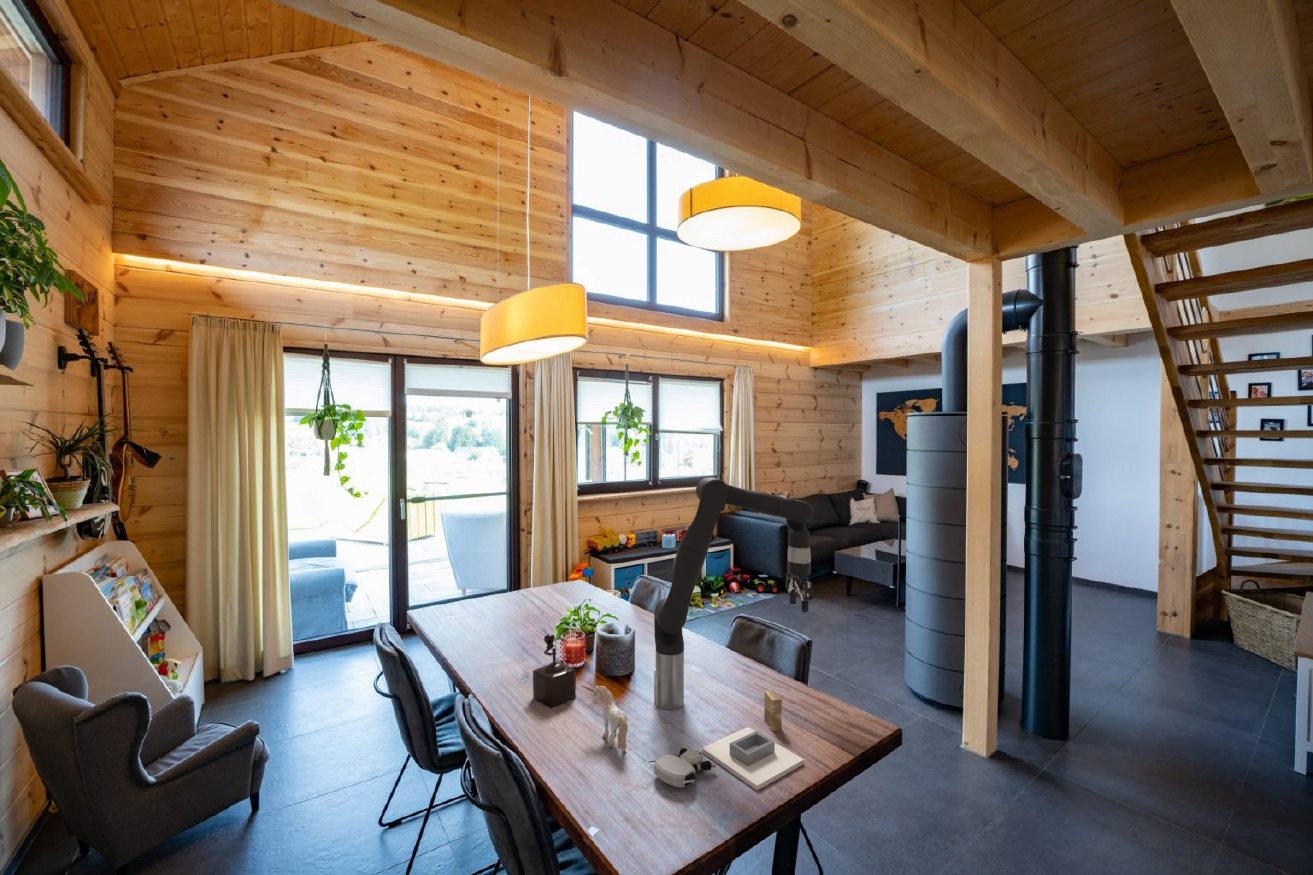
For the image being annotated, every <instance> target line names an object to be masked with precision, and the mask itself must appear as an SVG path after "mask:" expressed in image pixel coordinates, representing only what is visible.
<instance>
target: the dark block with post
mask: <svg viewBox="0 0 1313 875" xmlns="http://www.w3.org/2000/svg"><path fill="white" fill-rule="evenodd" d="M555 640H556V636H555V635H554V634H553V633H547V634H546V635H545V636H544V637H543V641H544V642H545V644H546V648H545V649H544V651H543V654H544V655H545V656H552V662H550V663H549V664H546V665H544V666H541V667H538V668H536V669H534V670H533V671H532V692H533V693H532V695H533V697H532V698H533V699H534V700H535V701H537V702H538V703H540V704H541V705H543V706H545V707H547V708H549V709H553V708H555V707H558V706H561V705H563V704H565V703H568V702H570V701H572V700H574V699H576V698H577V696H576V695H577V694H576V692H577V691H576V688H577V687H576V686H577V682H576V681H577V676H576V674H577V671H576V669H575V668H573V667H571V666H569V664H568V663H565V662H564V660H563V659H562V660H561V662H560V661H559V660H558V661H556V658H557V657H556V655H557V654H558V653H557V649H556V647H555V645H554V641H555ZM551 650H552V652H549V651H551Z"/></svg>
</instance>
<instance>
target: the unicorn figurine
mask: <svg viewBox="0 0 1313 875" xmlns="http://www.w3.org/2000/svg"><path fill="white" fill-rule="evenodd" d="M580 687H582V688H584V689H586V690H588V691H590V692H592V693H593V696H592V700H591V701H592V703H593V705H596V704H598V702H599V699H601V698H602V699H603V702H604V706H603V709H602V715H603V719H604V720H603V721H604V733H603V735H602V738H603V739H605V738H606V740H608V739H609V740H608V748H609V749H612V748H613V747H614V740H615V739H616V734H617V749H618V750H621V751H623V752H625V751H626V750H627V746H628V744H627V742H626V741H627V740H626V739H627V733H628V725H629V724H628V716H627V714H626V713H625V712H624V711H622V710H621V709H620V708H618V706H617V701H616V700H615V697H614V694H613V693H612V692H611V691H610V690H609V689H608V688H607V687H606V686H604V685H595V688H591V687H588V686H585V685H583V684H580ZM609 723H610V727H611V737H610V738H609V734H610V731H609V730H608V726H609ZM617 729H618V730H619V731H618V733H617Z"/></svg>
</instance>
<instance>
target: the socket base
mask: <svg viewBox="0 0 1313 875" xmlns="http://www.w3.org/2000/svg"><path fill="white" fill-rule="evenodd" d="M701 753H702V754H703V755H705V756H707V757H708V758H709V759H711V760H713V762H715V763H716V764H717V765H720V766H721V767H722V768H724V769H725V770H727V771H729V772H730V773H731V774H732V775H734V776H735V777H737V778H739V780H741V781H743V782H744V783H746V784H747V785H748V786H750V787H751V788H752V789H754V790H755V791H759V790H761V789H763V788H764V787H766V786H768V785H769V784H771V783H773V782H775V781H777V780H778V779H780V778H782V777H784V776H785V775H787V774H789V773H791V772H792V771H795V770H797V769H798V768H799V767H801V766H803V765H805V759H804V758H802V757H801V756H799V755H797V754H795V753H793V752H792V751H790V750H789V749H786V748H785V747H784V746H781V745H779V744H778V743H776V742H775V741H774V740H773V739H771V738H770V737H768V736H766V735H764V734H763V733H762V732H759V731H757V730H754V729H752V728H750V727H749V726H746V727H745V728H742V729H740V730H738V731H736V732H733V733H732V734H730V735H727V736H725V737H723V738H720V739H718V740H717V741H714V742H712V743H710V744H708V745H705V746H704V747H702V748H701Z"/></svg>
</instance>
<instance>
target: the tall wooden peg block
mask: <svg viewBox="0 0 1313 875" xmlns="http://www.w3.org/2000/svg"><path fill="white" fill-rule="evenodd" d="M763 693H764V696H763V697H764V702H763V703H764V709H763V711H764V714H763V716H764V718H763V719H764V722H765V723H766V725H767V727H769V729H770V730H771V731H772V732H774V731H775V732H776V731H782V730H783V729H782V728H783V727H782V726H783V725H782V723H783V722H782V718H783V716H782V712H783V711H782V710H783V709H782V708H783V705H782V702H783V701H782V700H783V699H782V698H781V696H779V695H778V693H777V692H776V691H775V690H774V689H770V690H769V689H768V690H764V692H763Z"/></svg>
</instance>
